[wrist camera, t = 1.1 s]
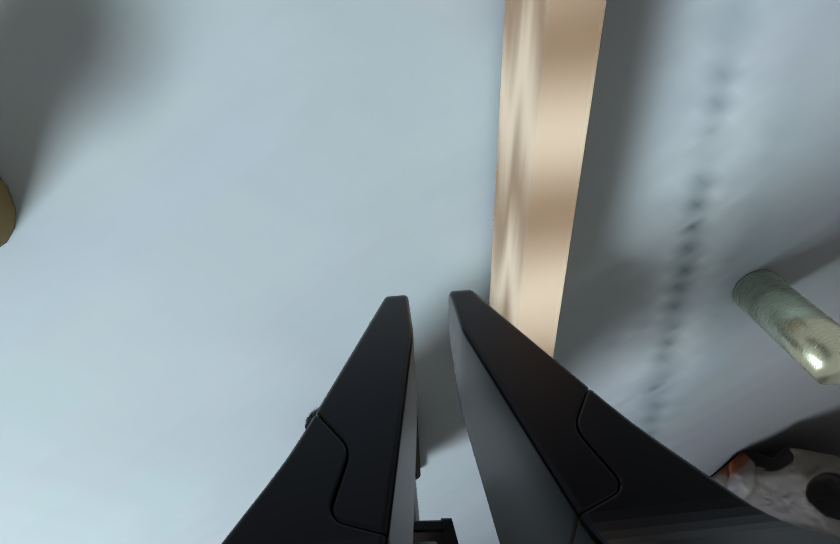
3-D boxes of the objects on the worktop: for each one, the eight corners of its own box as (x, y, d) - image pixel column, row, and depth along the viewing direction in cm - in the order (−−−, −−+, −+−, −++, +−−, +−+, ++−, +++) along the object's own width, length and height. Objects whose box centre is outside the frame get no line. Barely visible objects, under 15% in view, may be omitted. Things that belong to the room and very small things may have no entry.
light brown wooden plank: (527, 308, 26) (558, 378, 22) (481, 312, 26) (503, 383, 21) (570, -104, 16) (640, -122, 12) (498, -102, 16) (544, -118, 12)
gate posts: (771, 301, 28) (880, 396, 22) (480, 354, 28) (510, 462, 22) (782, 265, 26) (901, 355, 21) (476, 320, 27) (507, 426, 21)
